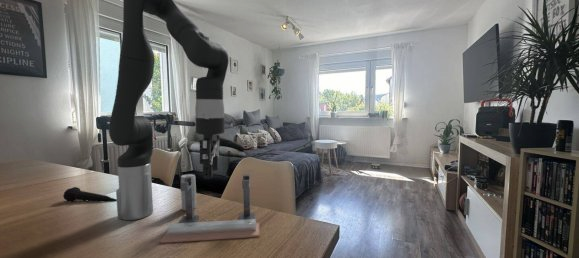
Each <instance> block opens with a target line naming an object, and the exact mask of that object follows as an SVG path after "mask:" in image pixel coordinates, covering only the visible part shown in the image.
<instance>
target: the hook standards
mask: <svg viewBox="0 0 579 258" xmlns="http://www.w3.org/2000/svg"><path fill="white" fill-rule="evenodd" d="M250 175H251V174H250V173H248V174H242V181H241V183H242V184H241V186H242V187H241V189H242V191H243V193H242V194H243V197H242V198H243V212H240V213H239V215H238V219H237V220H246V219H256V212H255V211H253V212H251V180H250V179H251V178H250ZM184 180H185V182H181V181H180V192H181V191H185V205H186V211H185V215H183V216H182V217H181V218H180V219H179V221H178V222H177V223H194V222H199V219H200V214H198V215H195V209H194V193H193V176H187V177H185V178H184Z"/></svg>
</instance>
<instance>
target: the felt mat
mask: <svg viewBox="0 0 579 258" xmlns="http://www.w3.org/2000/svg"><path fill="white" fill-rule="evenodd" d="M244 238H245V239H246V238H260V222H256V231H245V232H229V233H213V234H197V235H181V236H168V231H167V232H165V234H164V235H163V237H161V239H160V244H164V243H165V244H167V243H168V244H169V243H180V242H181V243H182V242H183V243H184V242H196V241H213V240H226V239H227V240H228V239H244Z"/></svg>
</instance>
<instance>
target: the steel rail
mask: <svg viewBox="0 0 579 258" xmlns="http://www.w3.org/2000/svg"><path fill="white" fill-rule="evenodd" d="M256 223H257V220H256V218H255V219H246V220H238V219H233V220H232V219H231V220H213V221H211V220H210V221H197V222H194V223H178V222H177V223H170V224H169V225H168V226H167V230H166V231H167V232H168V236H181V235H197V234H213V233H229V232H245V231H256Z"/></svg>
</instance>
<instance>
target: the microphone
mask: <svg viewBox="0 0 579 258" xmlns="http://www.w3.org/2000/svg"><path fill="white" fill-rule="evenodd" d="M62 197H63V200H66V202H68V201H73V202H75V201H83V202H100V201H105V202H106V201H108V202H117V198H114V197H111V196H109V195H104V194H100V193H94V192H91V191H90V192H89V191H83V190H81V188H80V187H77V186H73V187H71V188H68V189H66V190H65V191H64V192H63V195H62ZM74 200H75V201H74ZM86 200H88V201H86Z"/></svg>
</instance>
